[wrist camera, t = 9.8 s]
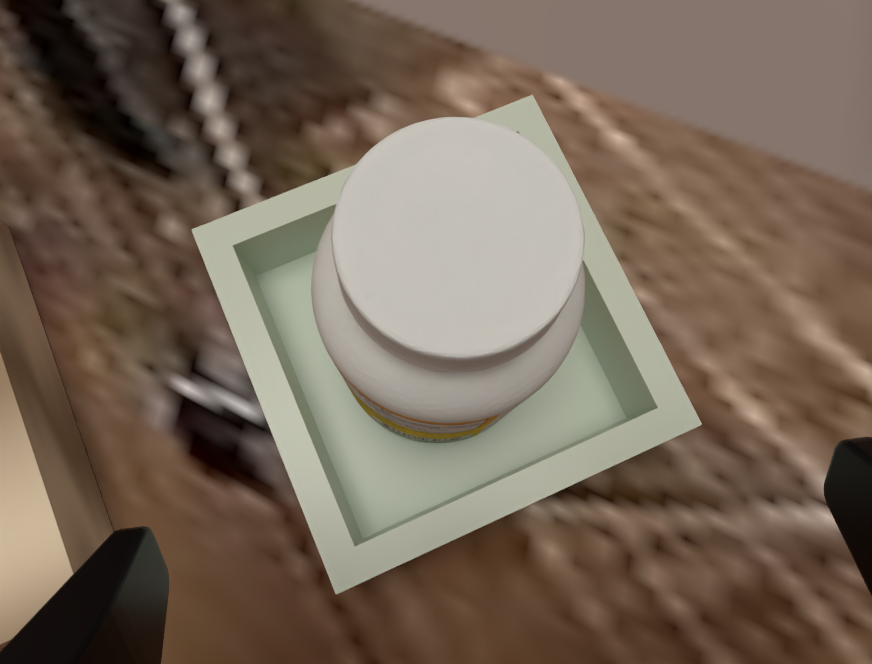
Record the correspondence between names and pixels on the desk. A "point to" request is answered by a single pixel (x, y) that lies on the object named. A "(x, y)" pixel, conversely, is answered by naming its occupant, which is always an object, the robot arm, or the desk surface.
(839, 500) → the robot arm
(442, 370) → the supplement bottle
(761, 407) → the desk surface
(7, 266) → the socket block
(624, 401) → the tray
